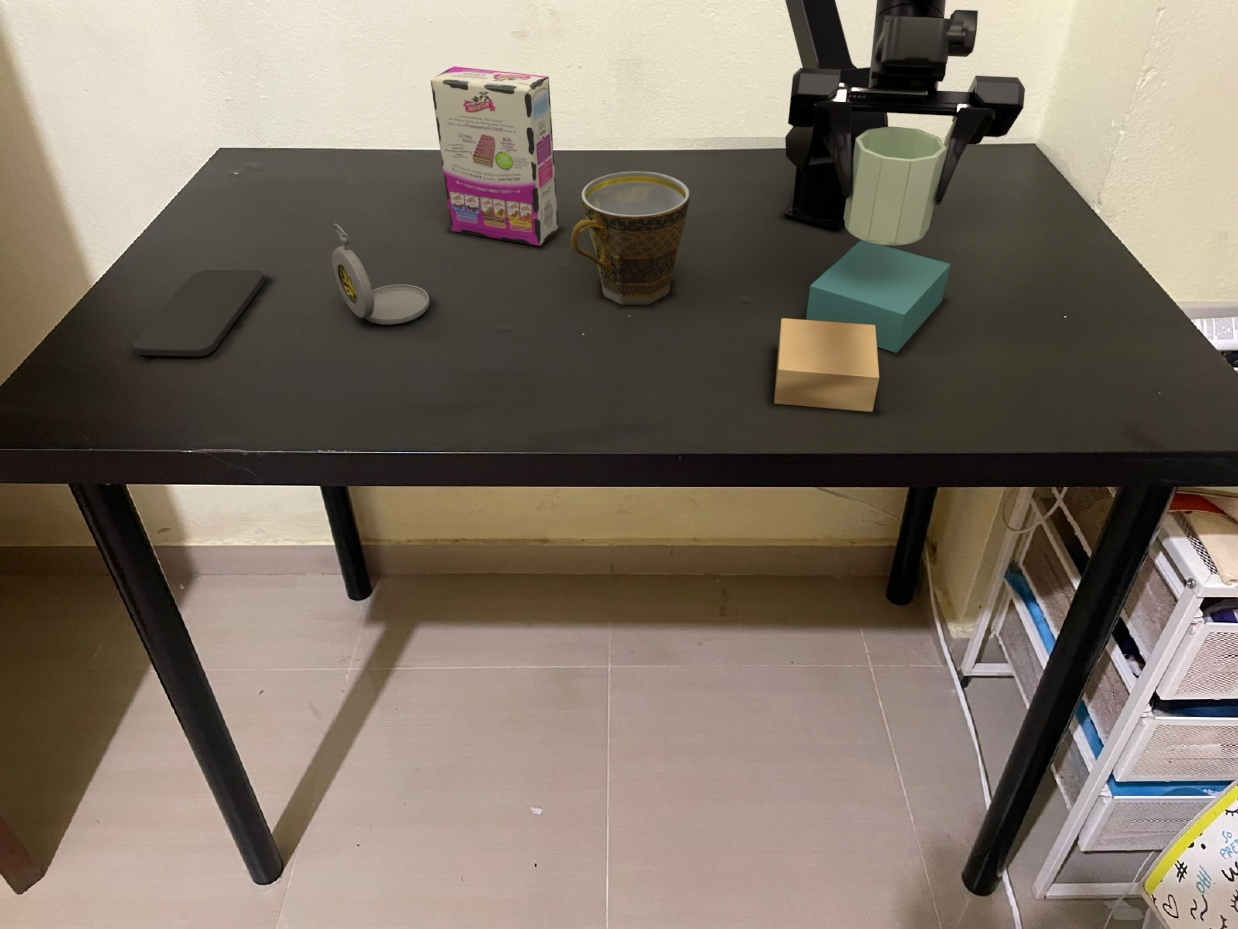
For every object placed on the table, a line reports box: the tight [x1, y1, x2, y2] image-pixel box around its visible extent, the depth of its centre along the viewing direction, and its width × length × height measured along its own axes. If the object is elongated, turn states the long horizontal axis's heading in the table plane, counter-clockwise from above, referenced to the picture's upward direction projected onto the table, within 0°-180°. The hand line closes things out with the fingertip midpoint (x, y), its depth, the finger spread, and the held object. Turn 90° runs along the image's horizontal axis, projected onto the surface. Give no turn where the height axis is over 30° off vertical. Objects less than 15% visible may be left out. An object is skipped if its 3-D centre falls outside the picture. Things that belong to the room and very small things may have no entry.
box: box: [805, 239, 951, 354], centre depth 88 cm, size 9×11×4 cm
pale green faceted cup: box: [844, 125, 946, 246], centre depth 80 cm, size 7×7×8 cm
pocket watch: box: [331, 222, 430, 326], centre depth 87 cm, size 8×8×10 cm
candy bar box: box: [430, 66, 559, 247], centre depth 98 cm, size 11×5×16 cm, turn 68°
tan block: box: [773, 317, 880, 413], centre depth 80 cm, size 8×8×4 cm
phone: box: [132, 269, 266, 357], centre depth 90 cm, size 7×1×15 cm
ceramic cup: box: [570, 171, 691, 306], centre depth 89 cm, size 13×10×10 cm
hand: (892, 199), depth 80 cm, fingers closed on pale green faceted cup, 7 cm apart
